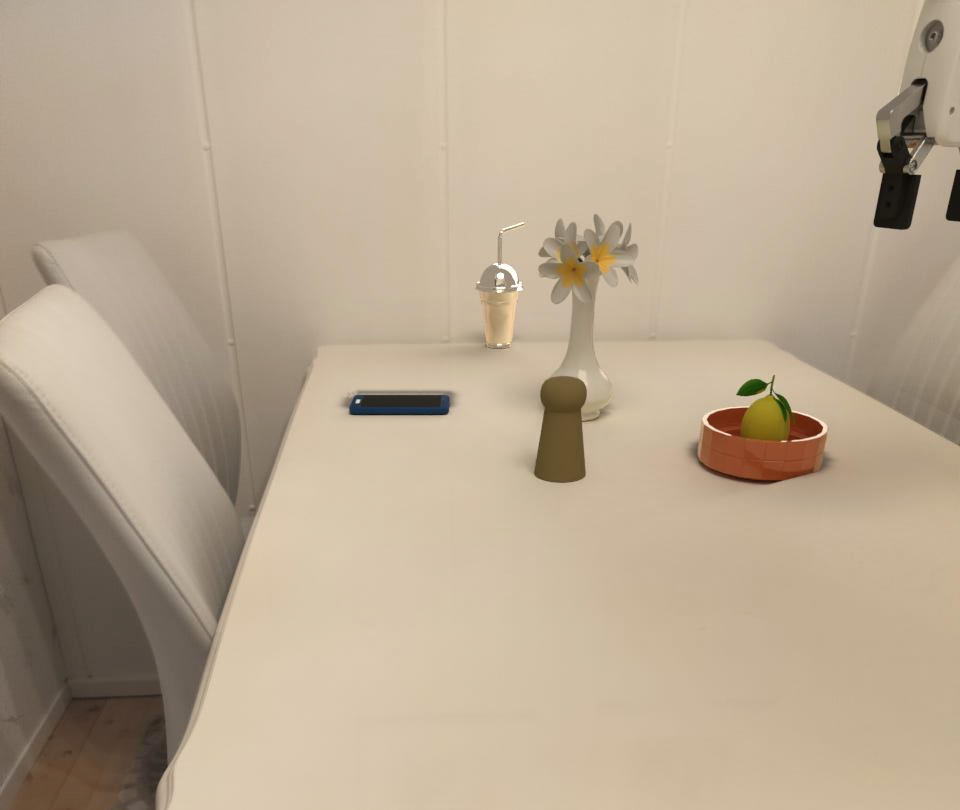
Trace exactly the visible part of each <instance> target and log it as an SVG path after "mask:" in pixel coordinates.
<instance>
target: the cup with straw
mask: <svg viewBox="0 0 960 810" xmlns="http://www.w3.org/2000/svg"><path fill="white" fill-rule="evenodd" d="M524 227H526V224H525V222H520V223H517V224H514V225H511V226H508V227H505V228H502V229H500V230H499V232H498V234H497V262H496V263H492V264H490V265H488V266H487V267H486V268H485V269H484V270H483V271H482V273H481V276H480V278H479V281H477V282H475V287H474V289H475V290H476V291H479V300H480V304H481V308H482V318H483V325H484V326H483V327H484V329H483V330H484V338H485V340H486V341H485V342H486V344H485V346H486V347H488V348H491V349H507V348H511V347H512V340H513V337H514V336H513V335H514V327H515V320H516V311H517V305H518V302H519V297H520V291H523V290H524V283H523V282H522V281H520V278H519V275H518V273H517V271H516V270H515V268H513V267H512V266H511V265H509V264H507V263H502V262H503V261H502V259H503V252H502V251H503V235H504V234H506V233H509V232H512V231H515V230H518V229H521V228H524Z"/></svg>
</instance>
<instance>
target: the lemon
mask: <svg viewBox="0 0 960 810" xmlns="http://www.w3.org/2000/svg"><path fill="white" fill-rule="evenodd" d="M775 378H776V374H773V375H772V377H771V381H769V382H765V381H764V380H762V379H760V378H751V379H749V380H747V381H745V382H744V383H743V384H742V385H741V386H740V388H739V389H738V390H737V392H736V394H735V395H736V396H737V397H738V396H739V397H751V396H756V395H759V394H762V393H764V392H765V391H766V390H767V388H768V386H769V385H770V388H769V393H768V394H766V395H765V396H764V397H760V398H758V399H756V400H754V402H752V403H751V404H750V405H749V406H750V407H749V408H748V410H747V411H746V413H745V415H744V417H743V420H742V424H741V431H740V434H741V437H744V438H750V439H759V440H772V441H787V440H788V437H789V432H790V419H789V414H790V416H791V418H792V420H793V422H794V418H793V414H792V411H793V410H792V408H791V405H790V403H789V401H788V399H786V398H785V396H783V395H782V394H779V393H777V392H775V390H774V382H775ZM775 396H776V397H775ZM788 413H789V414H788ZM794 424H795V422H794Z"/></svg>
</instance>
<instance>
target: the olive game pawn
mask: <svg viewBox="0 0 960 810" xmlns="http://www.w3.org/2000/svg"><path fill="white" fill-rule="evenodd" d="M540 387H541V388H540V390H539V391H540V392H539V397H540V402H541V404H542V406H543V407H544V411H543V417H542V423H541V427H540V428H541V429H540V434H539V440H538V446H537V452H536V458H535V464H534V471H533V474H534V476H535V477H537V478H538V479H540V480H543V481H547V482H551V483H552V482H554V483H570V482H576V481H577V482H578V481H580V480H582V479H584V478H585V477H586V475H587V474H586V473H587V470H586V459H585V458H586V457H585V445H584V443H585V442H584V430H583V421H582V416H581V408H582V407H583V405H584V404H585V401H586V397H587V389H586V386H585V384H584V382H583V381H582V380H580V379H578V378H575V377H570V376H557V377H551V378H547V379H545V380H544V381H543V383H542V385H541V386H540Z"/></svg>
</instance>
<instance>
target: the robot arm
mask: <svg viewBox="0 0 960 810" xmlns="http://www.w3.org/2000/svg"><path fill="white" fill-rule="evenodd" d="M875 125H876V133H877V143H876V152H877V154H878V157H879V158H880V161H879V164H878V171H879V173H880V174H882V176H881V181H880V186H879V191H878V196H877V200H876V206H875V212H874V217H873V222H872V223H873V226H874V227H875V228H881V229H889V230H890V229H891V230H899V231H905V230H909V229H910V227H911V225H912V222H913V217H914V212H915V208H916V204H917V198H918V195H919V189H920V186H921V181H922V180H921V179H922V174H916V172H917V171H918V170H919V168H920V167H921V165H922V164H923V162H924V161H925V160H926V158H927V156H928V154H929V153H930V152H931V150H932V149H933V147H934V146H940V147H943V148H958V152H959V154H960V0H924V2H923V4H922V8H921V10H920V13H919V16H918V19H917V22H916V26H915V29H914V31H913V35H912V38H911V42H910V45H909V48H908V52H907V56H906V60H905V64H904V68H903V71H902V75H901V80H900V85H899V88H898V92H897V96H895V97H894V98H893V99H891V100H890V101H889V102H888V103H886V104H885V105H884V106H882V107H881V108H880V109H879V110H878V111H877V113H876V115H875ZM909 149H912V150H911V152H910V151H909ZM945 220H946V221H947V222H956V223H957V222H958V223H960V169H959V168H958V169H956V170H955V173H954V178H953V182H952V185H951V190H950V195H949V200H948V203H947V208H946V212H945Z"/></svg>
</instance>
